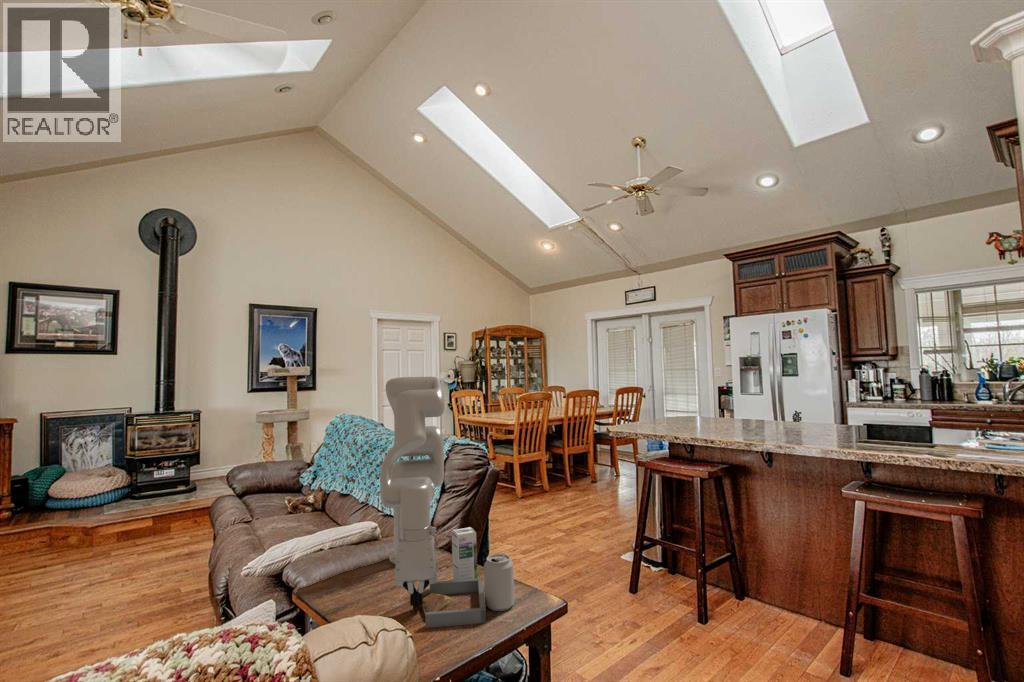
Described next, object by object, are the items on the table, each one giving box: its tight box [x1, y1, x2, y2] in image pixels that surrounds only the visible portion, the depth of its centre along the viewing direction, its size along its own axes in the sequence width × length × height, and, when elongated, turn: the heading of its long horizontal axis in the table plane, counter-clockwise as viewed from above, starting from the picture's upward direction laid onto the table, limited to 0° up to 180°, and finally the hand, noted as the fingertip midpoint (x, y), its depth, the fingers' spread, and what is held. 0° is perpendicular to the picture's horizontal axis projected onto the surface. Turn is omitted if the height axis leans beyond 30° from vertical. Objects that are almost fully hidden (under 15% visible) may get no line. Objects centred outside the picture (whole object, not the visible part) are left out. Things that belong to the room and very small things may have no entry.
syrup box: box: [451, 526, 479, 580], centre depth 139 cm, size 6×6×14 cm
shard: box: [420, 593, 453, 614], centre depth 123 cm, size 11×8×2 cm
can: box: [483, 553, 515, 612], centre depth 124 cm, size 8×8×12 cm
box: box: [424, 577, 487, 629], centre depth 123 cm, size 18×14×3 cm
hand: (416, 607), depth 122 cm, fingers closed
